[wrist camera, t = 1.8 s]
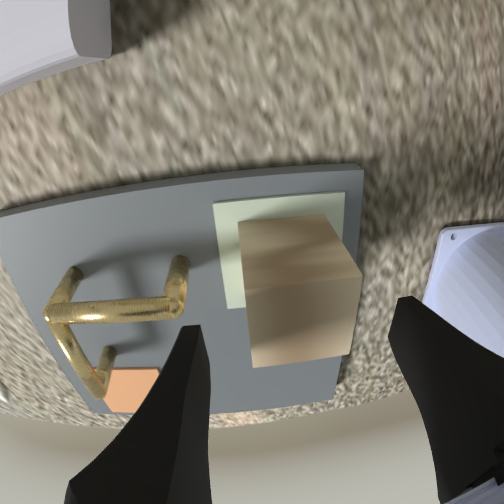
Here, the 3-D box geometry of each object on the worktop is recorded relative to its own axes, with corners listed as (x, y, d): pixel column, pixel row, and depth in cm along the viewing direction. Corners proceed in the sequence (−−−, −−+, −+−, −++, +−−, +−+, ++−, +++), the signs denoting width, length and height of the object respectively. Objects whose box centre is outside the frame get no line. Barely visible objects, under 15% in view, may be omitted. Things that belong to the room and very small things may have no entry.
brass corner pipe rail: (188, 253, 16) (180, 304, 12) (209, 351, 19) (209, 402, 16) (64, 267, 15) (36, 312, 12) (105, 356, 19) (92, 402, 16)
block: (323, 214, 15) (362, 275, 11) (320, 283, 17) (349, 354, 13) (237, 222, 15) (244, 290, 10) (244, 292, 17) (253, 367, 12)
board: (354, 162, 15) (365, 171, 14) (329, 387, 24) (333, 400, 23) (-3, 211, 14) (-15, 222, 13) (96, 401, 24) (92, 414, 22)
